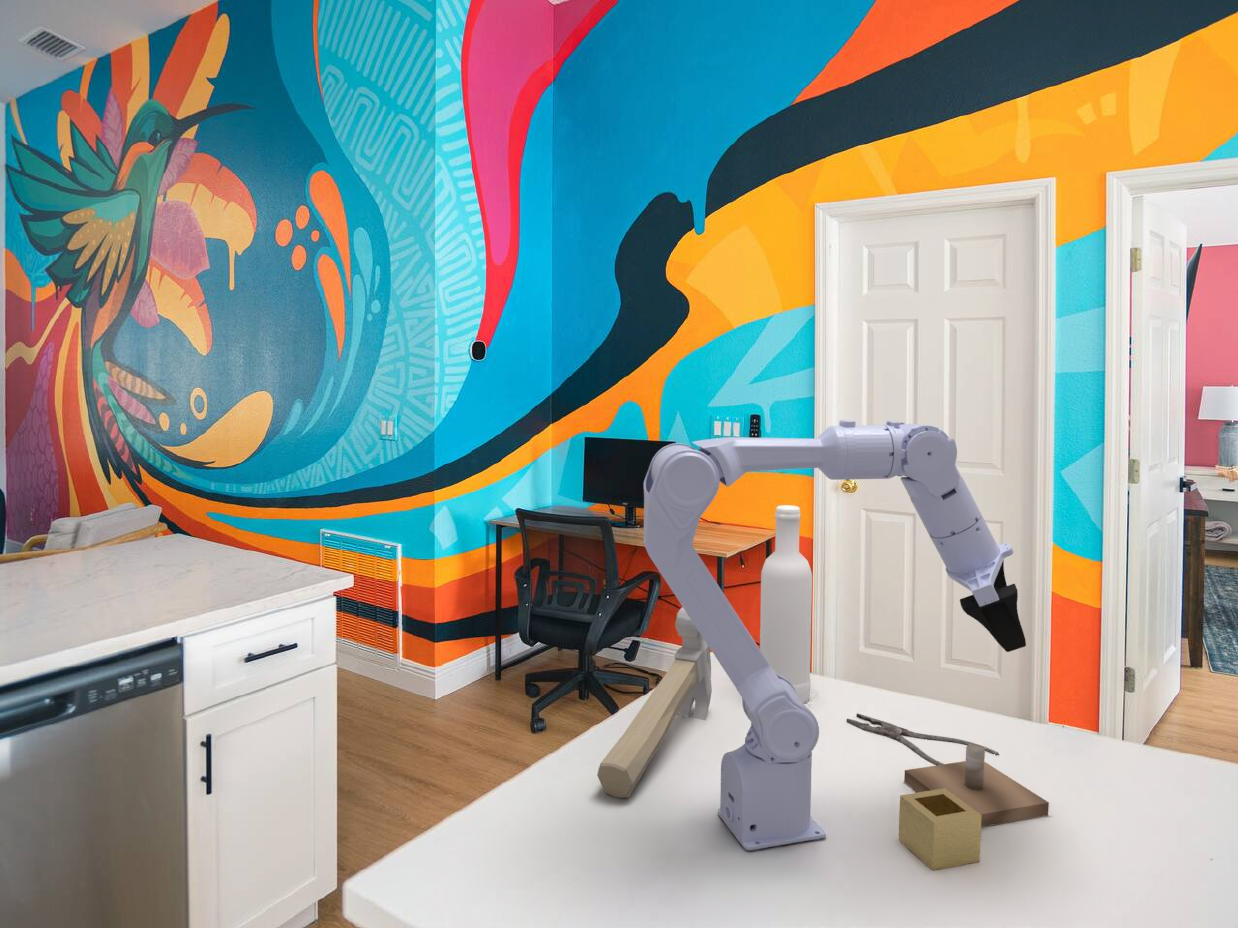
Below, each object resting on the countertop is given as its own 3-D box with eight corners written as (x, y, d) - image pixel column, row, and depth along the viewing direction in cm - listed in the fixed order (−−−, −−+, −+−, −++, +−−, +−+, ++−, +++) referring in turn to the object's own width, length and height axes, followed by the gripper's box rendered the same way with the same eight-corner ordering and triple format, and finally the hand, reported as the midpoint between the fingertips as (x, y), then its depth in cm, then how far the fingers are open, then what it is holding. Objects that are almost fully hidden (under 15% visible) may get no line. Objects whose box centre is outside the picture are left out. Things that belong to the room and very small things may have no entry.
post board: (966, 829, 87) (968, 777, 86) (904, 781, 98) (905, 734, 97) (1048, 814, 90) (1051, 764, 89) (979, 770, 101) (981, 724, 100)
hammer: (625, 730, 90) (711, 606, 116) (589, 722, 92) (680, 603, 118) (638, 842, 95) (717, 700, 120) (603, 832, 97) (688, 694, 122)
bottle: (800, 710, 119) (804, 512, 116) (750, 699, 123) (753, 508, 120) (816, 693, 126) (821, 505, 123) (769, 683, 130) (772, 501, 127)
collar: (932, 870, 80) (934, 822, 79) (898, 839, 85) (900, 795, 85) (979, 861, 81) (981, 814, 81) (943, 831, 87) (944, 787, 86)
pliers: (985, 777, 98) (829, 734, 110) (984, 783, 98) (828, 740, 110) (1001, 748, 106) (854, 711, 118) (1001, 754, 106) (854, 717, 118)
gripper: (1002, 534, 78) (1062, 651, 79) (983, 488, 91) (1035, 588, 92) (931, 561, 80) (991, 673, 82) (923, 512, 94) (974, 610, 95)
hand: (1010, 630), depth 87 cm, fingers open, 7 cm apart
